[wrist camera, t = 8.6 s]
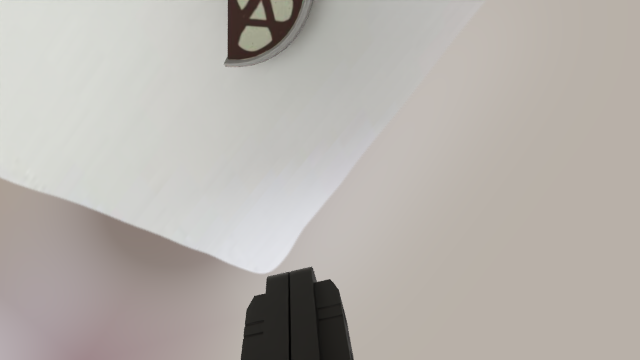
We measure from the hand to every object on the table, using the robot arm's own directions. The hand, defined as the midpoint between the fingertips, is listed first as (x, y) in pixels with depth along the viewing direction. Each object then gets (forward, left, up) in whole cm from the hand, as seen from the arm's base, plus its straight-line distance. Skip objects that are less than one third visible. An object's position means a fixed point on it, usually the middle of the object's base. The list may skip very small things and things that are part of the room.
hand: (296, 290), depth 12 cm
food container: (-1, -9, -29) cm, 31 cm away
